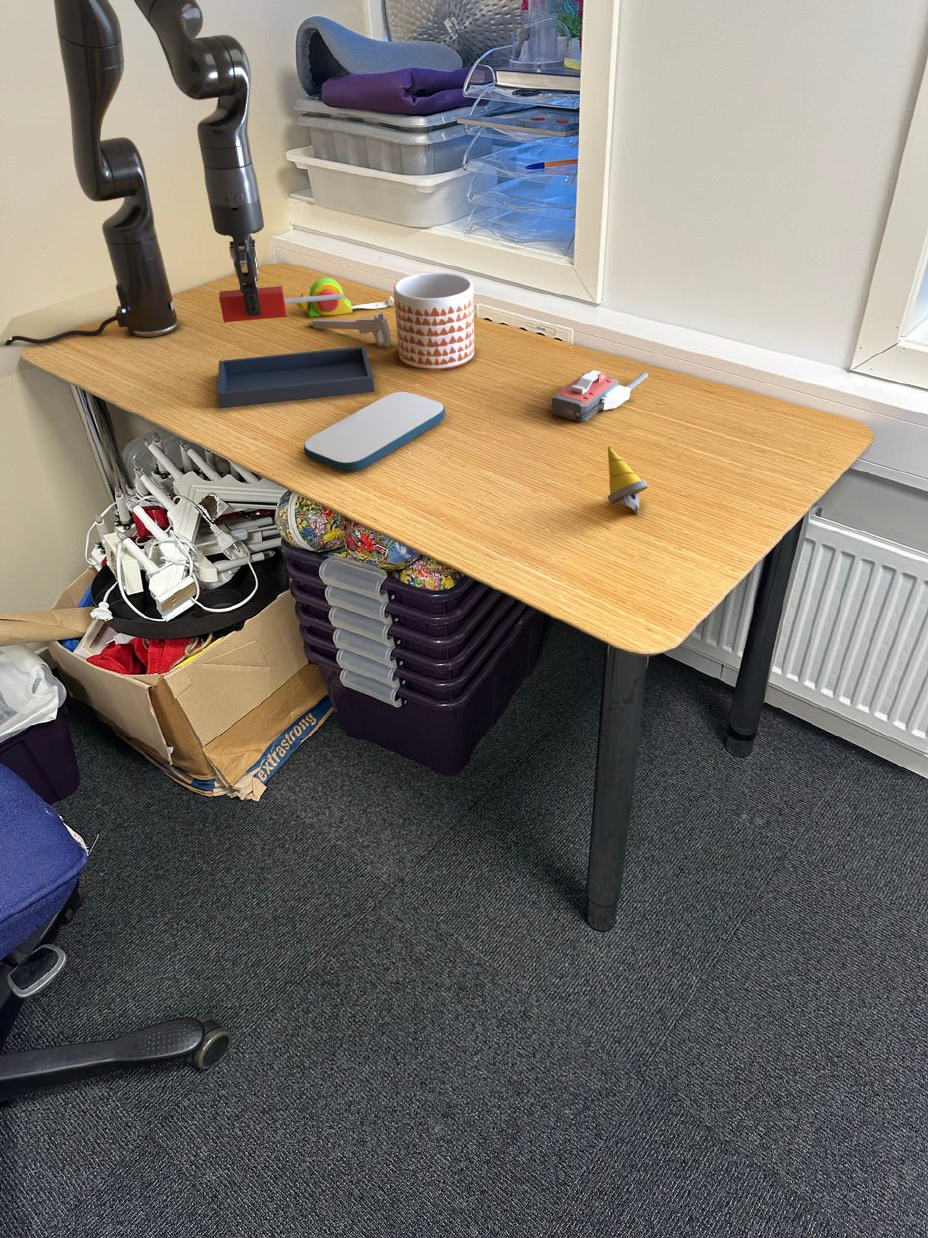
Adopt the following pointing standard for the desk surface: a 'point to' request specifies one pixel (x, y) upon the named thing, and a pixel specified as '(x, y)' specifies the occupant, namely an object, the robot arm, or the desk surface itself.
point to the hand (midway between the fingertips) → (254, 310)
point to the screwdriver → (262, 303)
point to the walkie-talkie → (591, 396)
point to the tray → (294, 377)
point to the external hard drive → (374, 431)
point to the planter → (434, 320)
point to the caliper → (360, 327)
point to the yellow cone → (624, 482)
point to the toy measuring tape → (334, 306)
